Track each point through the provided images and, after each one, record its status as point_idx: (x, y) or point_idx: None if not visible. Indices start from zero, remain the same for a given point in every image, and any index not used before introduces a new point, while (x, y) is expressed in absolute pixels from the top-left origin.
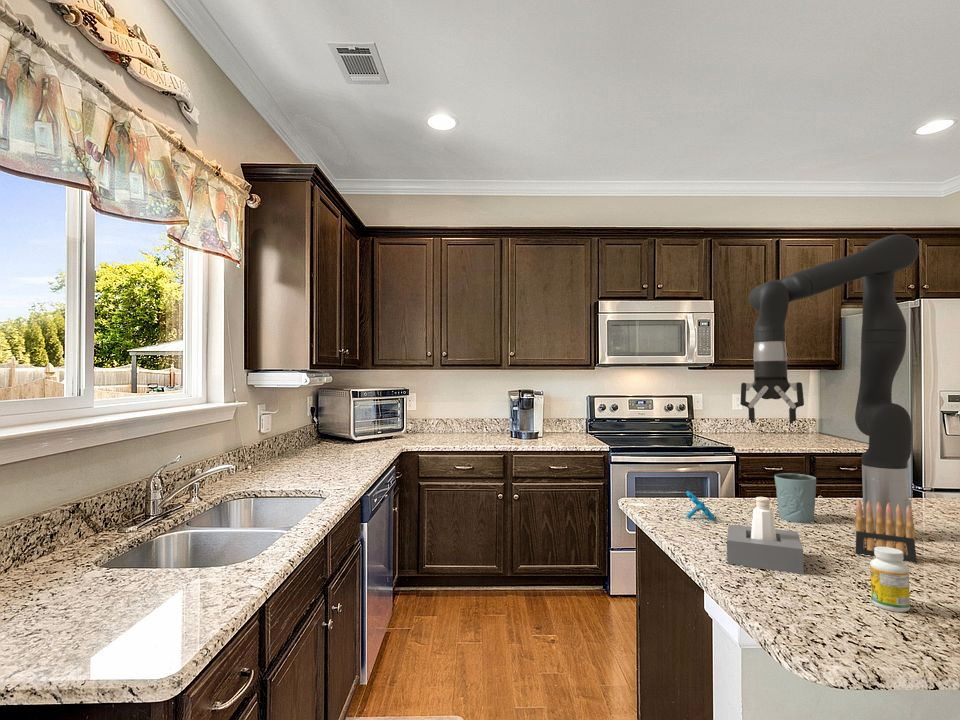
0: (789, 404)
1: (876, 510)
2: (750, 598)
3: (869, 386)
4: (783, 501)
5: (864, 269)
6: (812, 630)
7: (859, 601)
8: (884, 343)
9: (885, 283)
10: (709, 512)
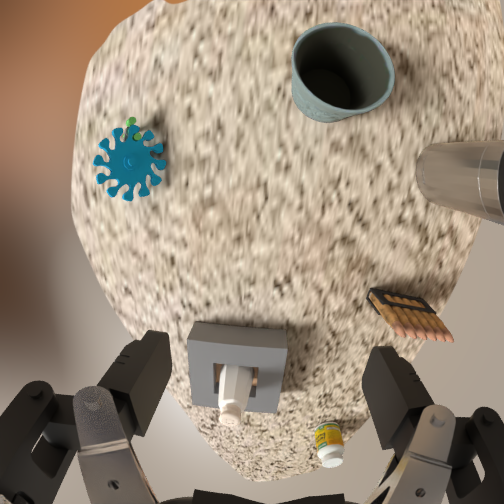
0: (388, 476)
1: (416, 333)
2: (222, 440)
3: None
4: (303, 104)
5: None
6: (258, 462)
7: (306, 428)
8: None
9: None
10: (151, 163)
